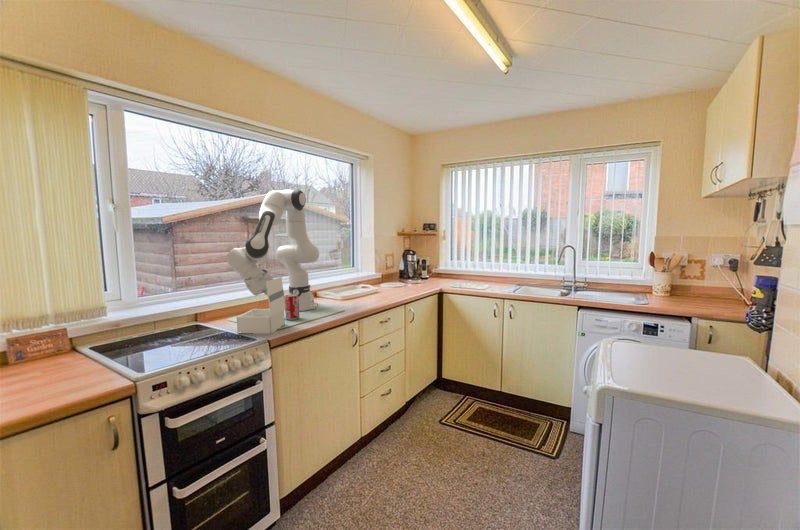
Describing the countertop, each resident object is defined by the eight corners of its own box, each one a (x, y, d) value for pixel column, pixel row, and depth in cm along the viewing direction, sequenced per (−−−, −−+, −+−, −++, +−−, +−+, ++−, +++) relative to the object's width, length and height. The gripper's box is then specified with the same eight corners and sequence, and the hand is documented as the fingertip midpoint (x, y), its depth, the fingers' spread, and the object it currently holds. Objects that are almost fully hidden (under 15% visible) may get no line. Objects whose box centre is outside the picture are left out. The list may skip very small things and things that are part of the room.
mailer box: (254, 324, 177) (253, 308, 176) (284, 324, 176) (283, 309, 175) (237, 333, 161) (236, 316, 160) (271, 334, 160) (270, 317, 159)
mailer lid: (280, 276, 174) (281, 276, 173) (284, 308, 175) (285, 308, 175) (265, 281, 157) (267, 281, 157) (270, 316, 159) (272, 316, 159)
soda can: (295, 320, 183) (294, 296, 181) (283, 320, 184) (281, 296, 183) (301, 317, 190) (300, 294, 188) (289, 316, 191) (288, 293, 190)
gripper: (247, 274, 155) (268, 296, 155) (267, 269, 175) (287, 289, 176) (238, 284, 156) (259, 306, 156) (259, 278, 176) (278, 297, 176)
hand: (274, 297), depth 166 cm, fingers closed, pressing on mailer lid
